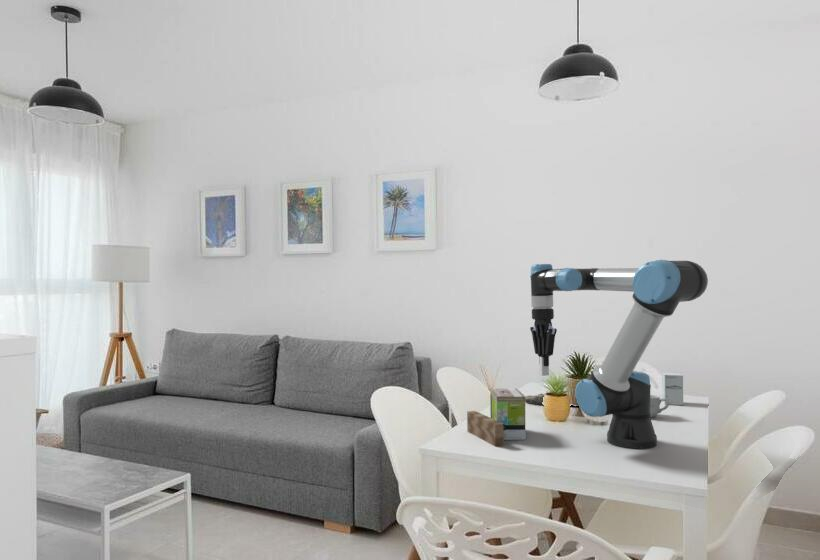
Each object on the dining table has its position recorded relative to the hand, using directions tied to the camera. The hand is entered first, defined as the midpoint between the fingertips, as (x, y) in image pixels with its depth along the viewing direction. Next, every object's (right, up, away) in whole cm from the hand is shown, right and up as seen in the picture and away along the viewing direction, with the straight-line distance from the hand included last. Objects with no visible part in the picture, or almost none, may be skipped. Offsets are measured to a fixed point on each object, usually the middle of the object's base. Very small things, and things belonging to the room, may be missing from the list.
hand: (544, 375), depth 200 cm
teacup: (+44, -19, +18) cm, 51 cm away
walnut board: (-22, -20, -8) cm, 31 cm away
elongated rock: (+19, -20, +40) cm, 49 cm away
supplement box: (+64, -19, +40) cm, 77 cm away
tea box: (-14, -20, -4) cm, 25 cm away
